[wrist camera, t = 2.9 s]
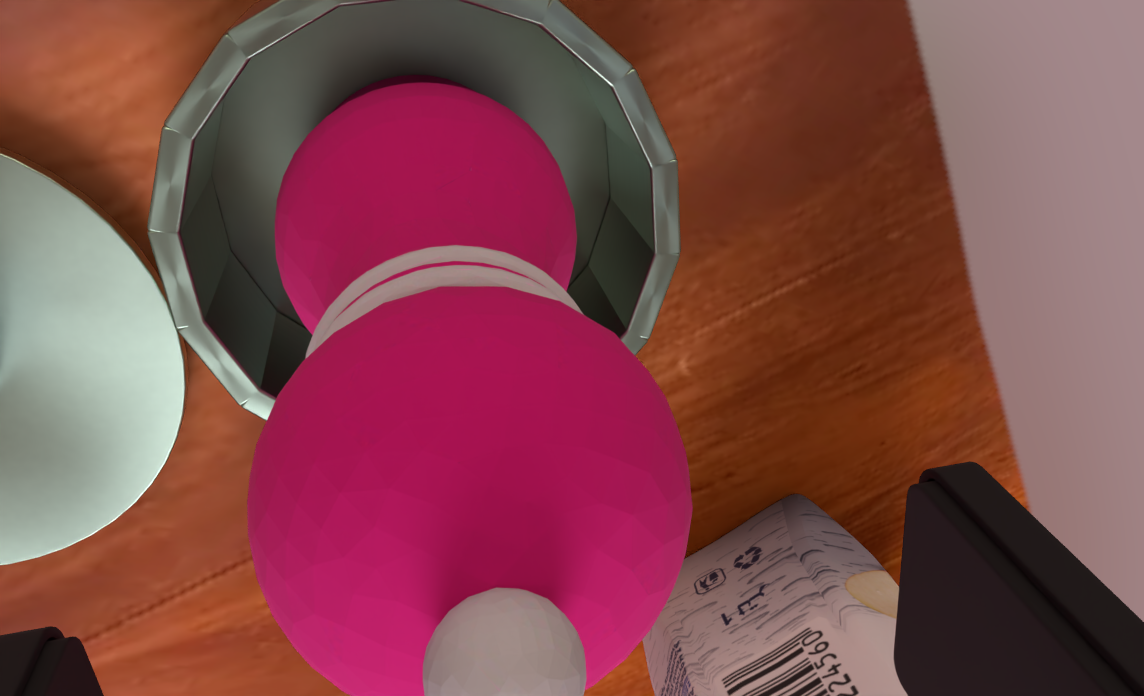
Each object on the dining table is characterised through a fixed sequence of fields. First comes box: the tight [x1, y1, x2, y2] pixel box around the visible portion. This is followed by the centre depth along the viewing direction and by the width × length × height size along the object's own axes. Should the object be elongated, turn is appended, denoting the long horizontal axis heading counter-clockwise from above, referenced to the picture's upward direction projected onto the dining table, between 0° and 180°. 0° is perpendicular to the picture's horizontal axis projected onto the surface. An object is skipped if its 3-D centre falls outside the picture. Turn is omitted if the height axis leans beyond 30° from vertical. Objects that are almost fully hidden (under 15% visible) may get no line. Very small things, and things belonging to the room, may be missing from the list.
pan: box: [147, 0, 681, 421], centre depth 25 cm, size 12×12×5 cm
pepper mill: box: [247, 75, 693, 696], centre depth 18 cm, size 7×7×20 cm
